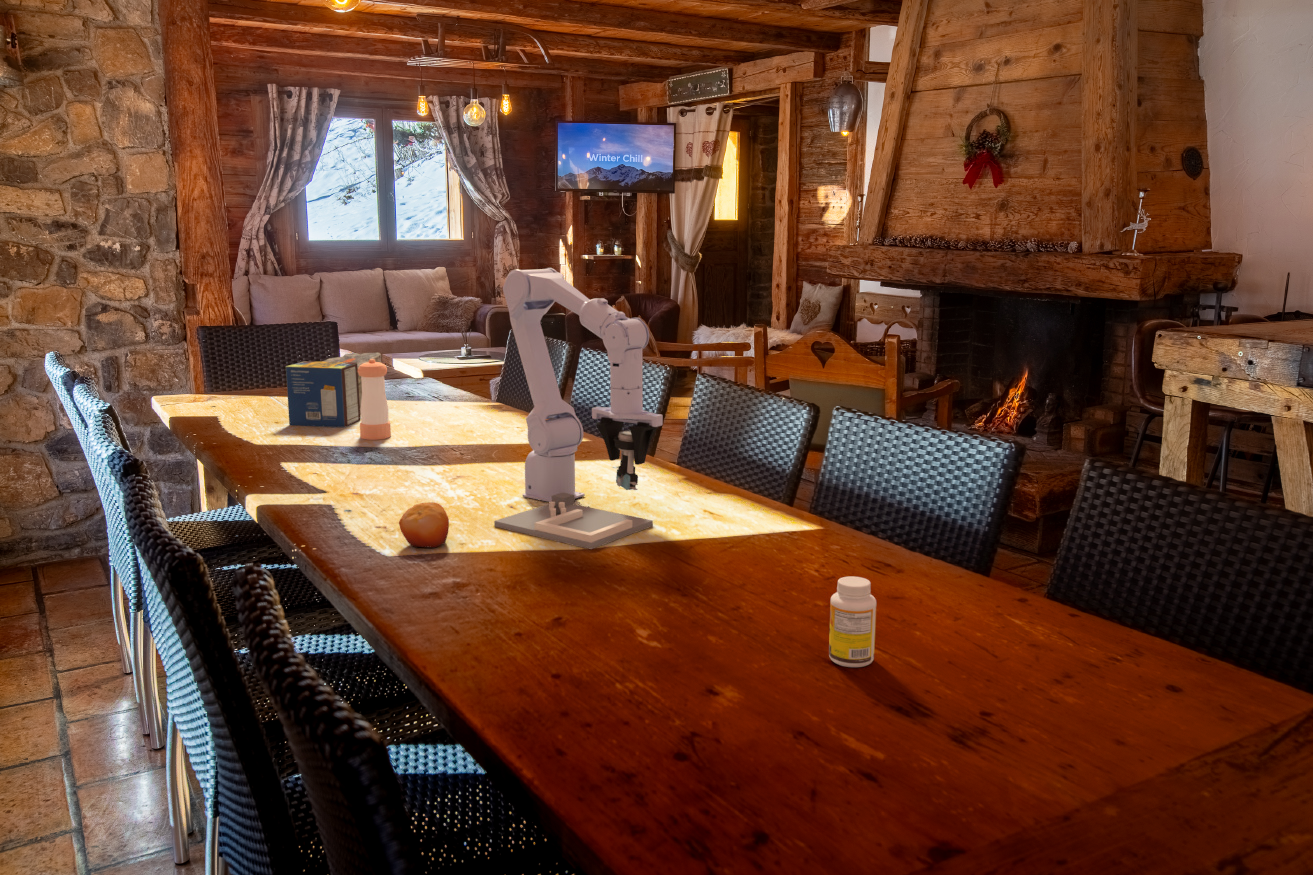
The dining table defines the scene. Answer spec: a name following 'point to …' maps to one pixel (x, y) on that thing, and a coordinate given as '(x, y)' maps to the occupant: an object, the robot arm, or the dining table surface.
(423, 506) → the fruit
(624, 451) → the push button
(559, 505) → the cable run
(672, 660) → the dining table surface
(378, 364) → the salt shaker
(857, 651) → the supplement bottle
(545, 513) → the mat
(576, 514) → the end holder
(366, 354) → the petrified wood
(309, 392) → the protein box
